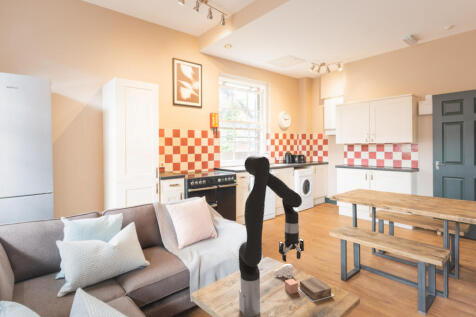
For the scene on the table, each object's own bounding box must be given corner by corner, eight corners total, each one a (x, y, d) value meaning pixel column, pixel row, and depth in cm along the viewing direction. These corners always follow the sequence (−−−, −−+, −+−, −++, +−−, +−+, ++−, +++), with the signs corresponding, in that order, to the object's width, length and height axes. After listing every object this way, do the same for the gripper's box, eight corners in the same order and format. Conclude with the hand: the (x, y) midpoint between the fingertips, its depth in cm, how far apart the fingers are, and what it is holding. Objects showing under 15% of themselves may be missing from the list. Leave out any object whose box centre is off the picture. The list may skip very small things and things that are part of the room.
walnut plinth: (313, 300, 133) (313, 292, 133) (299, 288, 144) (299, 281, 144) (331, 295, 137) (331, 288, 137) (316, 284, 148) (316, 277, 148)
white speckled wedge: (292, 266, 153) (272, 266, 156) (294, 281, 153) (273, 280, 156) (293, 262, 159) (273, 262, 162) (294, 275, 159) (274, 275, 162)
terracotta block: (289, 296, 139) (289, 285, 138) (284, 291, 143) (284, 280, 143) (297, 293, 141) (297, 283, 140) (292, 289, 145) (292, 278, 145)
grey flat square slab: (312, 304, 131) (312, 302, 131) (296, 289, 144) (296, 287, 144) (334, 297, 137) (334, 295, 136) (317, 284, 150) (317, 282, 149)
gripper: (283, 234, 134) (283, 265, 135) (307, 230, 139) (306, 260, 140) (276, 229, 141) (276, 259, 142) (299, 226, 146) (298, 255, 147)
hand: (291, 260), depth 141 cm, fingers open, 8 cm apart
